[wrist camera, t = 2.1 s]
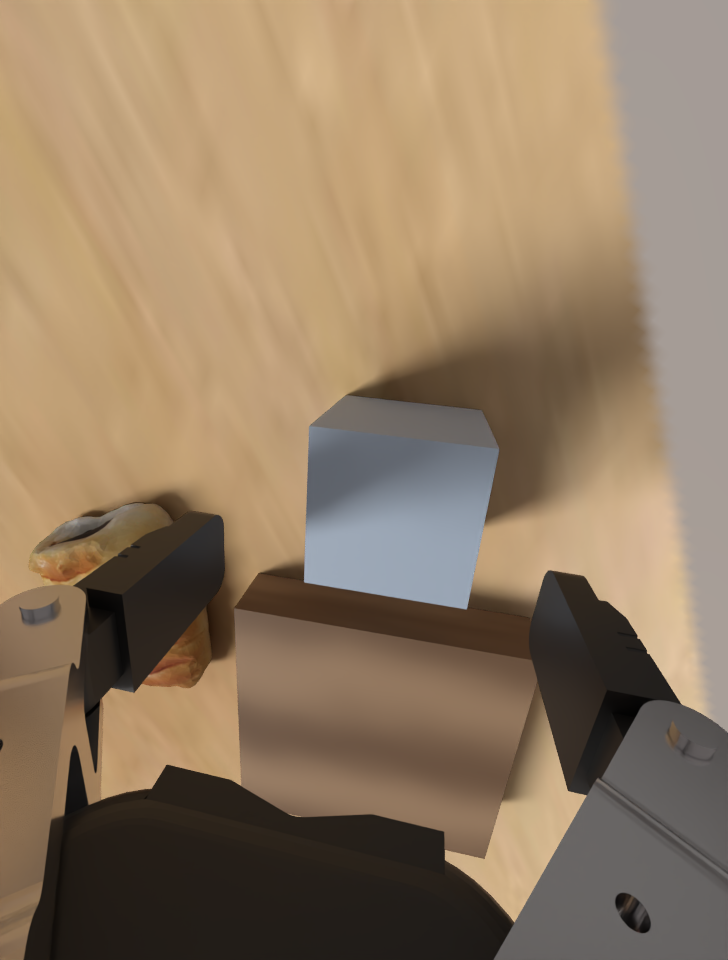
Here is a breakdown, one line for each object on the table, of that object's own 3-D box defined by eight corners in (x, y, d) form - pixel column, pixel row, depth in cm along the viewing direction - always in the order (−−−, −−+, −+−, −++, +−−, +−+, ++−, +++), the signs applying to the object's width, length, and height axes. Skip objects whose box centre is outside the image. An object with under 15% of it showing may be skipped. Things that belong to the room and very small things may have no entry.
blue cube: (346, 394, 16) (309, 426, 12) (481, 409, 16) (499, 448, 11) (338, 514, 18) (303, 582, 13) (459, 531, 17) (466, 609, 13)
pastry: (254, 651, 22) (218, 716, 18) (148, 671, 24) (97, 733, 20) (166, 485, 19) (103, 524, 16) (55, 521, 21) (-23, 564, 17)
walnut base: (262, 567, 20) (234, 608, 17) (527, 610, 19) (543, 662, 16) (264, 747, 24) (242, 802, 22) (479, 793, 23) (484, 859, 20)
